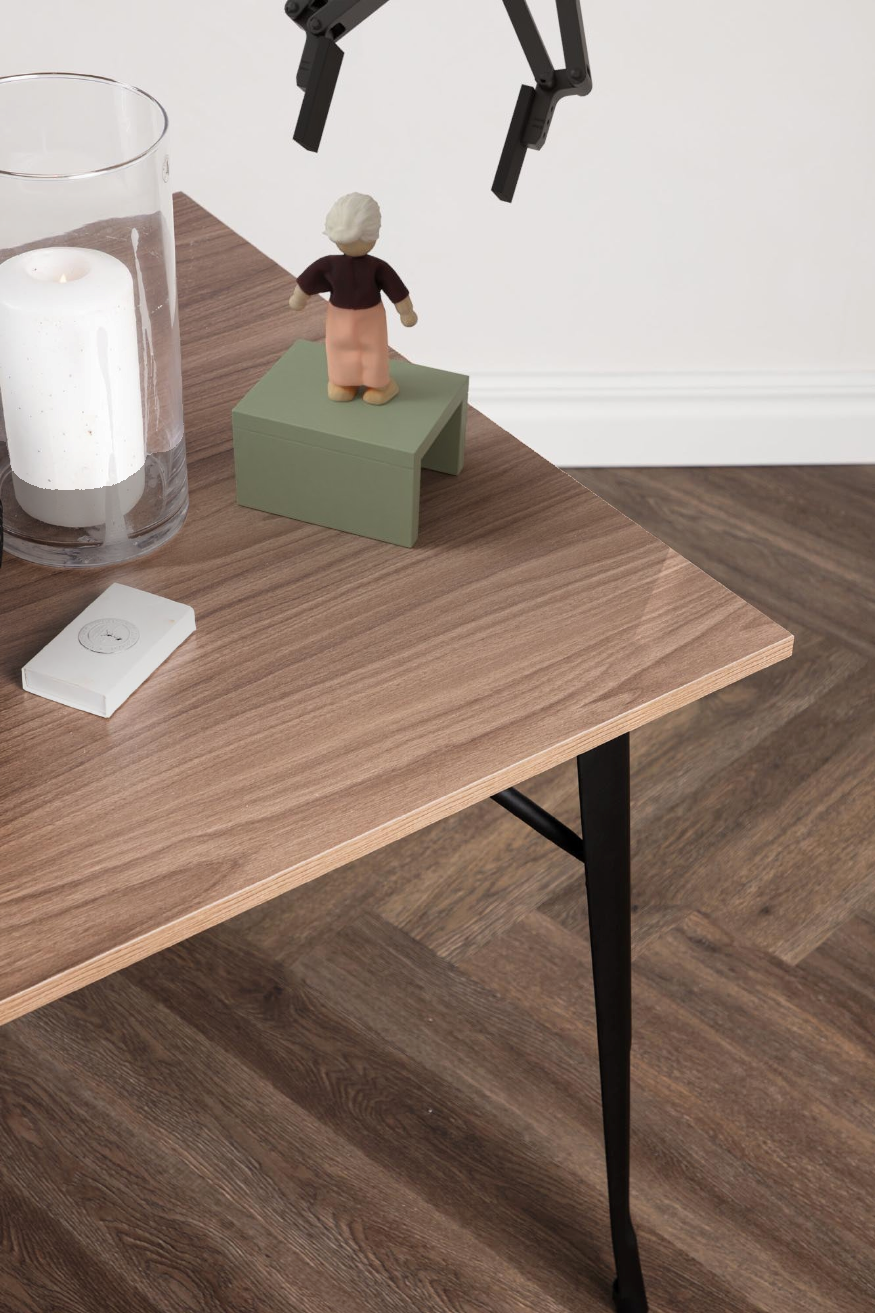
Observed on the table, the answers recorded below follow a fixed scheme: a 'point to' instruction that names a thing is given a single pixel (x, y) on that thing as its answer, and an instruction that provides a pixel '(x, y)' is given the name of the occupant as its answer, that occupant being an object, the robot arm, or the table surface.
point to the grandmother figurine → (356, 302)
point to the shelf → (346, 445)
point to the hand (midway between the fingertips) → (401, 171)
